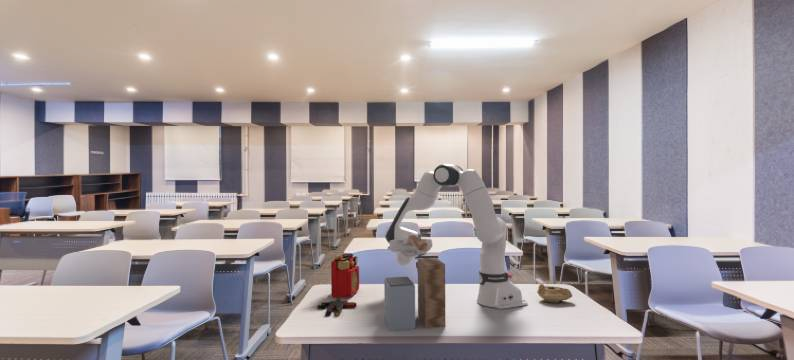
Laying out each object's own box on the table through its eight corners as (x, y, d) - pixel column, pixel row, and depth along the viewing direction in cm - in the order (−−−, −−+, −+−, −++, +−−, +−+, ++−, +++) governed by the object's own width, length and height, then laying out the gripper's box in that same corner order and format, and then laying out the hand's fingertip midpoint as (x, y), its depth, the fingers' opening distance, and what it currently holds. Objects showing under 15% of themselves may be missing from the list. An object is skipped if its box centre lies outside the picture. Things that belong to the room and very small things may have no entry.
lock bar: (415, 241, 173) (415, 235, 173) (427, 250, 151) (427, 243, 151) (408, 241, 172) (408, 235, 172) (420, 250, 150) (420, 243, 150)
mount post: (436, 315, 156) (436, 258, 156) (445, 326, 144) (445, 264, 144) (418, 316, 154) (417, 258, 154) (425, 327, 142) (425, 265, 142)
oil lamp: (576, 305, 168) (576, 287, 168) (543, 305, 167) (543, 287, 167) (564, 297, 179) (564, 280, 179) (534, 297, 178) (533, 281, 178)
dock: (408, 317, 153) (408, 276, 154) (415, 328, 142) (414, 284, 142) (384, 319, 152) (384, 277, 152) (389, 330, 140) (389, 285, 140)
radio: (350, 299, 178) (350, 257, 178) (330, 298, 180) (330, 256, 180) (360, 289, 193) (360, 251, 193) (341, 288, 195) (341, 250, 195)
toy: (358, 307, 167) (358, 301, 167) (335, 319, 153) (334, 312, 153) (332, 302, 175) (332, 295, 175) (307, 312, 161) (307, 306, 161)
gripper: (386, 243, 180) (390, 233, 168) (427, 242, 184) (434, 231, 172) (387, 256, 177) (391, 246, 165) (429, 254, 181) (436, 244, 169)
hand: (413, 238), depth 169 cm, fingers closed on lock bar, 3 cm apart
